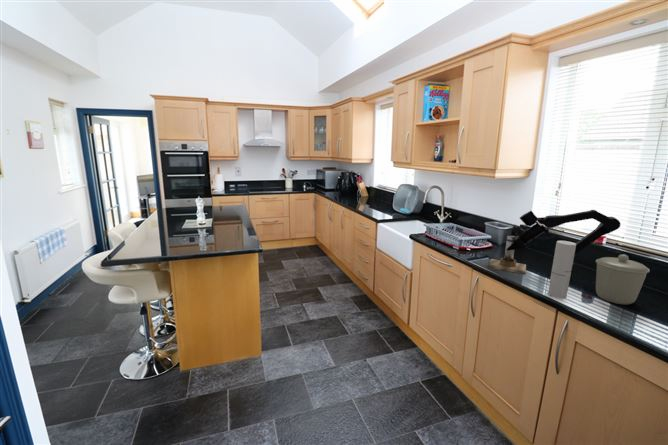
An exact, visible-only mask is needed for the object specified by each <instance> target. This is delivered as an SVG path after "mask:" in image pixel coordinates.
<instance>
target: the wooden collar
mask: <svg viewBox="0 0 668 445" xmlns="http://www.w3.org/2000/svg"><path fill="white" fill-rule="evenodd" d="M499 260H500V265H502V266H505V267H516V263H517V260H516V259H515V258H513V262H510V261H505V260H504V257H500V259H499Z"/></svg>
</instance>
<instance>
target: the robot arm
mask: <svg viewBox="0 0 668 445" xmlns="http://www.w3.org/2000/svg"><path fill="white" fill-rule="evenodd" d="M519 219H520V220H521V222H522V223H523V224H524V225H525V226H526V227H529V228H525V229H523V228H522V227H520V226H519V225H516V224H514V225H513V226H512V228H511V230H510V231H511V232H513V233H515V235H514V236H515V237H516V239H514V243H513V244H511V245H510V246H509V247H508V248H507V251H509V250H514V251H515V250H520V249H521V250H524V249H526V248H527V245H528V243H530V242H531V241H532V240H535V239H536V238H537V237H539V236H540V235H542V234H544V233H545V235H549V231H550V229H553V228H556V227H559V226H561V225H564V224H568V223H573V222H579V221H586V220H592V219H593V220H595V221H597V222H599V224H598V225H597V227H596V228H595V229H594V230H592V231H591V232H589V233H588V234H587V235H585V236H584V237H582V238H580V239H579V240H578V241H576V242H575V243H576V248H575V254H574V258H575V257H576V256H577V254H578V253H580V252H582V251H583V250H584V249H586V248H587V247H588V246H590V245H591V244H593V243H595V241H597V240H598V239H600V238H601V237H603V236H605V235H607V234H610V233H613V232H615V231H617V230H618V229H619V228H621V222H620V220H619V219H617V218H616V217H614V216H608V215H606V214H603V213H601V212H599V211H598V210H596V209H591V210H590V209H589V210H586V211H582V212H581V211H579V212H576V213H570V214H564V215H560V214H559V215H557V214H556V215H546V216H545V217H542V216H541V217H537V216H536V214H534V212H533V211H532V210H530V211H528V212H525V213H524V214H522V215H521V216H519ZM575 266H576V264H575V263H574V262H573V265H572V270H571V275H570V281H574V279H573V277H574V270H575Z"/></svg>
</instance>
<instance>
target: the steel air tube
mask: <svg viewBox="0 0 668 445" xmlns="http://www.w3.org/2000/svg"><path fill="white" fill-rule="evenodd" d="M506 236H507V237H506V243H505V250H504V252H505V253H504V257H503V258H504V260H505V261H510V262H513V259H514V255H515V250H509V251H507V248H508V247H509V246H510V245H511V244H513V243H514V239H516V237H517V236H516V235H506ZM515 236H516V237H515Z"/></svg>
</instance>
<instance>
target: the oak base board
mask: <svg viewBox="0 0 668 445" xmlns="http://www.w3.org/2000/svg"><path fill="white" fill-rule="evenodd" d="M488 269H494V270H499V271H503V272H512V273H515V274H516V273H517V274H522V275H526V271H527V263H526V264H525V263H520V262H516V267H505V266H502V265H500V259H494V258H491V259H490V262H489V265H488Z"/></svg>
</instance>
